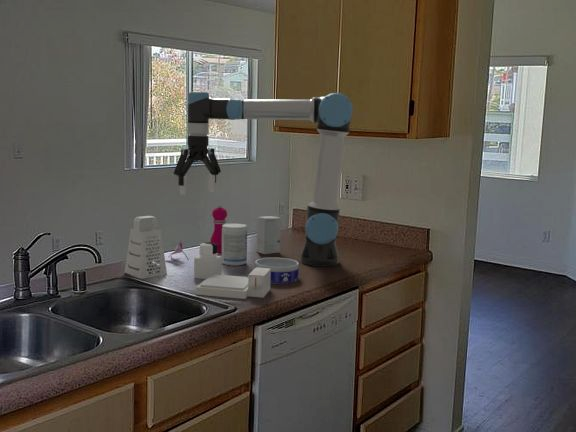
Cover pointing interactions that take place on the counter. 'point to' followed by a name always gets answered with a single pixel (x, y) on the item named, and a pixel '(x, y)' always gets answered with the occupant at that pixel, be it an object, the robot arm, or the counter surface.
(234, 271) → the counter surface
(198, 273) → the medicine bottle
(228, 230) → the supplement tub
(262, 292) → the kitchen scale
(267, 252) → the skincare box
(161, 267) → the grater
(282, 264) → the dog bowl
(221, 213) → the pepper mill
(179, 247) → the lily
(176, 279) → the counter surface
